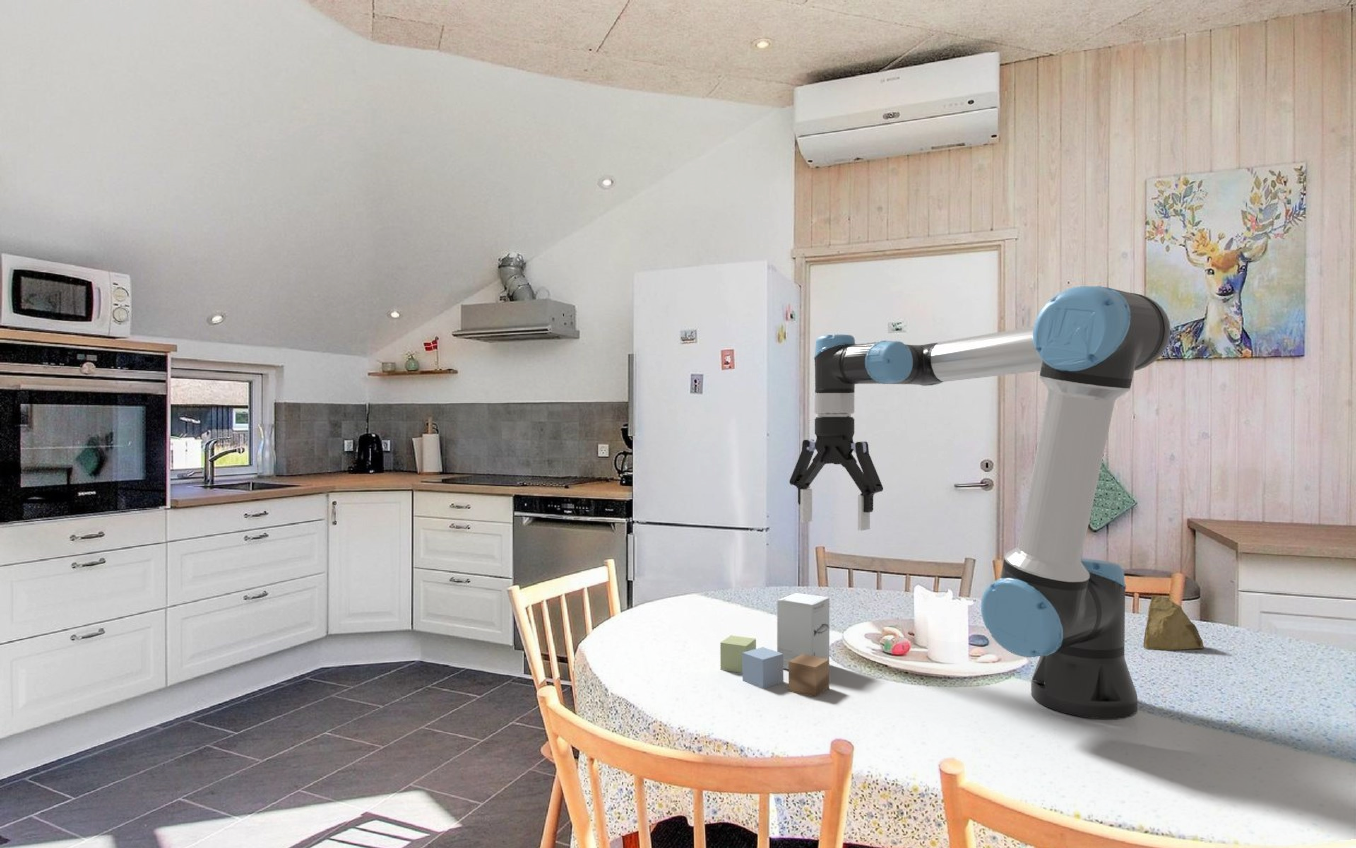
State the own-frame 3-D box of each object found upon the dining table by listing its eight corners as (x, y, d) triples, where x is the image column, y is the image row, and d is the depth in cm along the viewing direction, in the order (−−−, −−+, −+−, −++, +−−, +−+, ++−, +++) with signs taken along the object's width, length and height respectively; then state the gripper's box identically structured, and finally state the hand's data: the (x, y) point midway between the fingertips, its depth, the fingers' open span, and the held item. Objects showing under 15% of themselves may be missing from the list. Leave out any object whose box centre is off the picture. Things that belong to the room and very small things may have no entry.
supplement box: (812, 675, 137) (812, 604, 137) (775, 667, 141) (775, 599, 141) (830, 664, 143) (830, 596, 142) (795, 657, 147) (795, 591, 147)
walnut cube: (829, 688, 130) (828, 659, 130) (815, 697, 126) (815, 667, 126) (802, 682, 133) (802, 654, 133) (788, 691, 129) (788, 661, 129)
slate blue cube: (783, 682, 134) (783, 653, 134) (762, 689, 131) (762, 659, 130) (763, 675, 138) (762, 647, 137) (742, 681, 134) (742, 652, 134)
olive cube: (756, 665, 143) (755, 638, 143) (746, 673, 138) (745, 646, 138) (731, 661, 145) (730, 635, 145) (720, 669, 140) (720, 642, 140)
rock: (1206, 632, 154) (1149, 618, 160) (1211, 604, 149) (1152, 591, 155) (1199, 675, 148) (1139, 659, 154) (1203, 648, 143) (1142, 632, 149)
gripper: (902, 416, 142) (901, 531, 142) (796, 415, 160) (796, 516, 161) (879, 416, 137) (878, 535, 137) (772, 415, 155) (772, 520, 156)
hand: (834, 525), depth 149 cm, fingers open, 13 cm apart
